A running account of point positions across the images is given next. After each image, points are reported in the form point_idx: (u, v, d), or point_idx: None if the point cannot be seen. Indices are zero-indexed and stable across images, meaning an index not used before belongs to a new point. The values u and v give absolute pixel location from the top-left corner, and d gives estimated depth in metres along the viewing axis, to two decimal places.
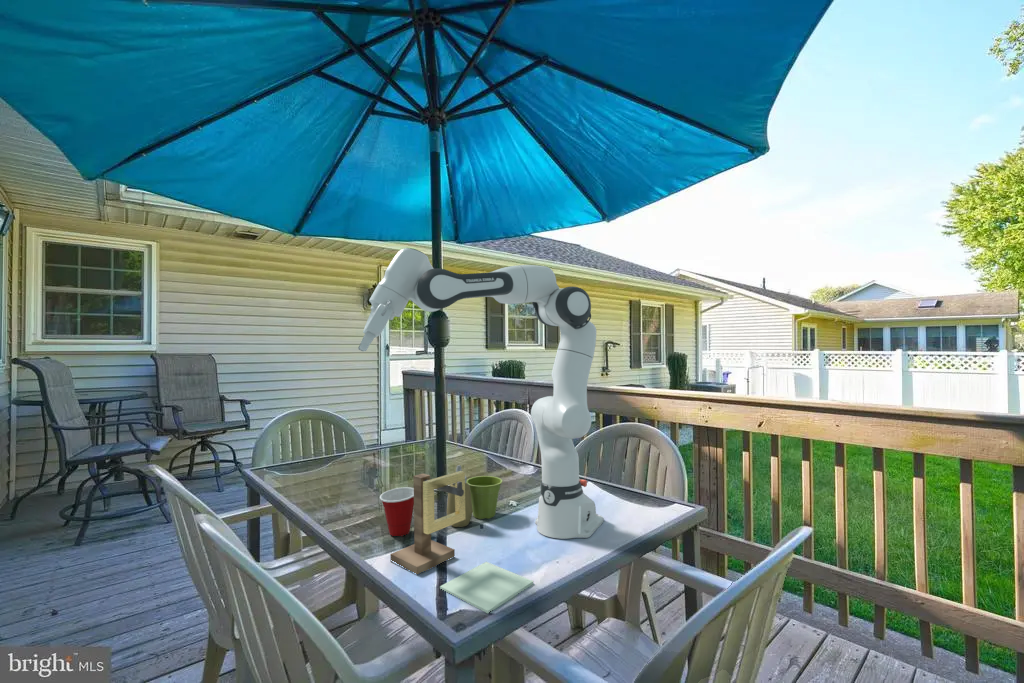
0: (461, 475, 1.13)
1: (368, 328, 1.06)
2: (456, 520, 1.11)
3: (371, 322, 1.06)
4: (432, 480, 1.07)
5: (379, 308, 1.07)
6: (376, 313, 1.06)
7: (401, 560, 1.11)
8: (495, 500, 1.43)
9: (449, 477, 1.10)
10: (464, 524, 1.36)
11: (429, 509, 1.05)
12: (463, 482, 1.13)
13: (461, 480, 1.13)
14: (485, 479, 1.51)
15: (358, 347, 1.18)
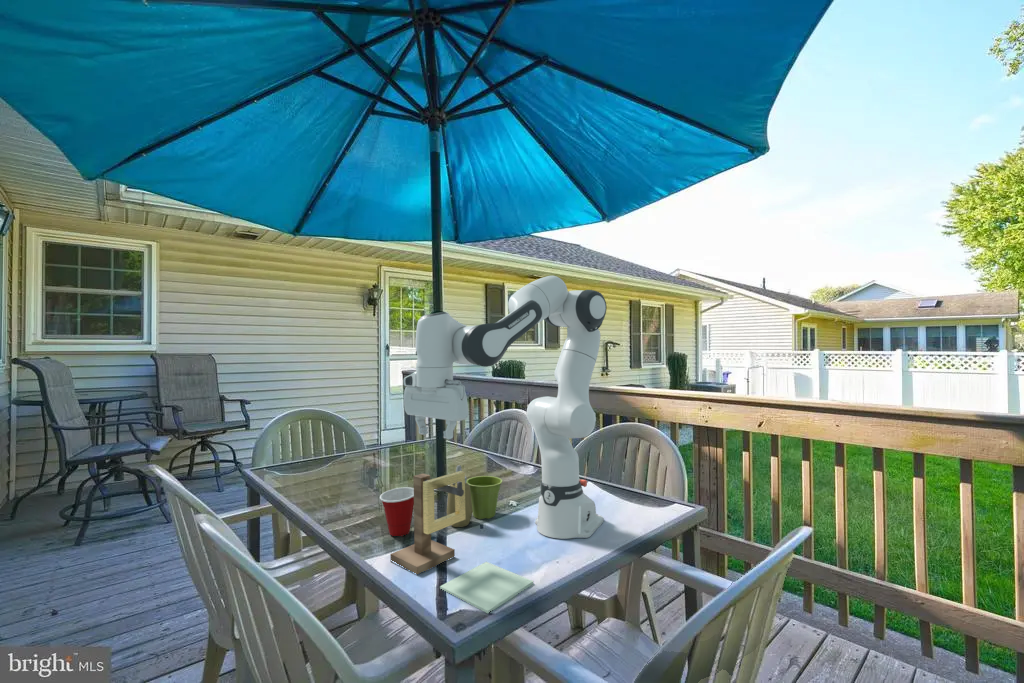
0: (461, 475, 1.13)
1: (458, 419, 1.01)
2: (456, 520, 1.11)
3: (458, 412, 1.01)
4: (432, 480, 1.07)
5: (456, 395, 1.01)
6: (457, 401, 1.01)
7: (401, 560, 1.11)
8: (495, 500, 1.43)
9: (449, 477, 1.10)
10: (464, 524, 1.36)
11: (429, 509, 1.05)
12: (463, 482, 1.13)
13: (461, 480, 1.13)
14: (485, 479, 1.51)
15: (421, 433, 1.10)
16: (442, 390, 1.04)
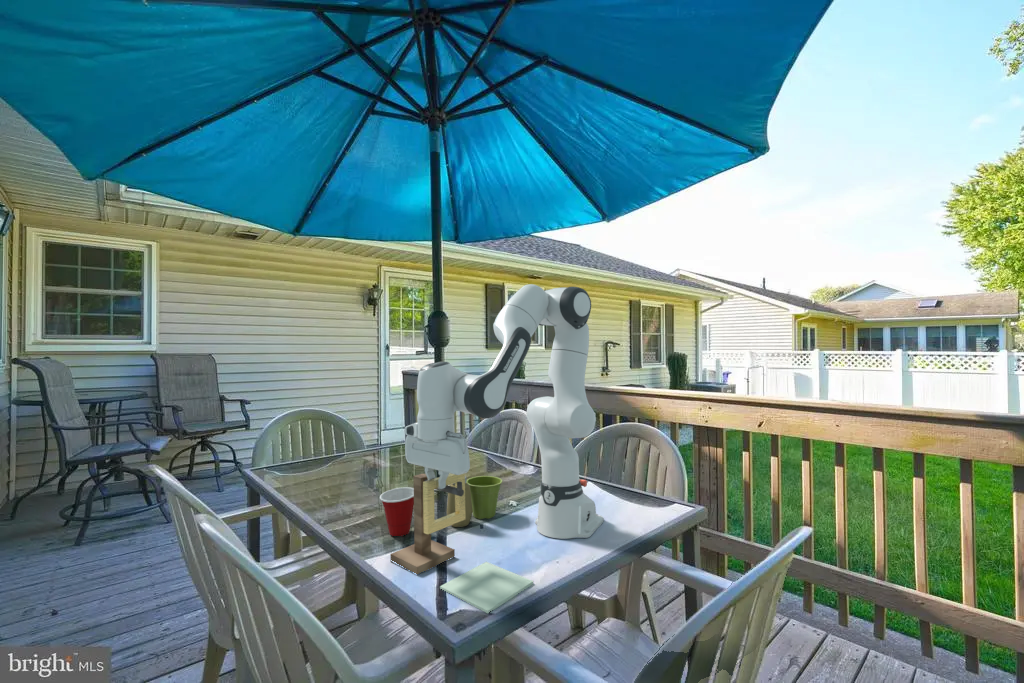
0: (461, 475, 1.13)
1: (459, 473, 1.01)
2: (456, 520, 1.11)
3: (460, 466, 1.00)
4: (432, 480, 1.07)
5: (458, 449, 1.01)
6: (459, 455, 1.01)
7: (401, 560, 1.11)
8: (495, 500, 1.43)
9: (449, 477, 1.10)
10: (464, 524, 1.36)
11: (429, 509, 1.05)
12: (463, 482, 1.13)
13: (461, 480, 1.13)
14: (485, 479, 1.51)
15: None
16: (444, 443, 1.03)
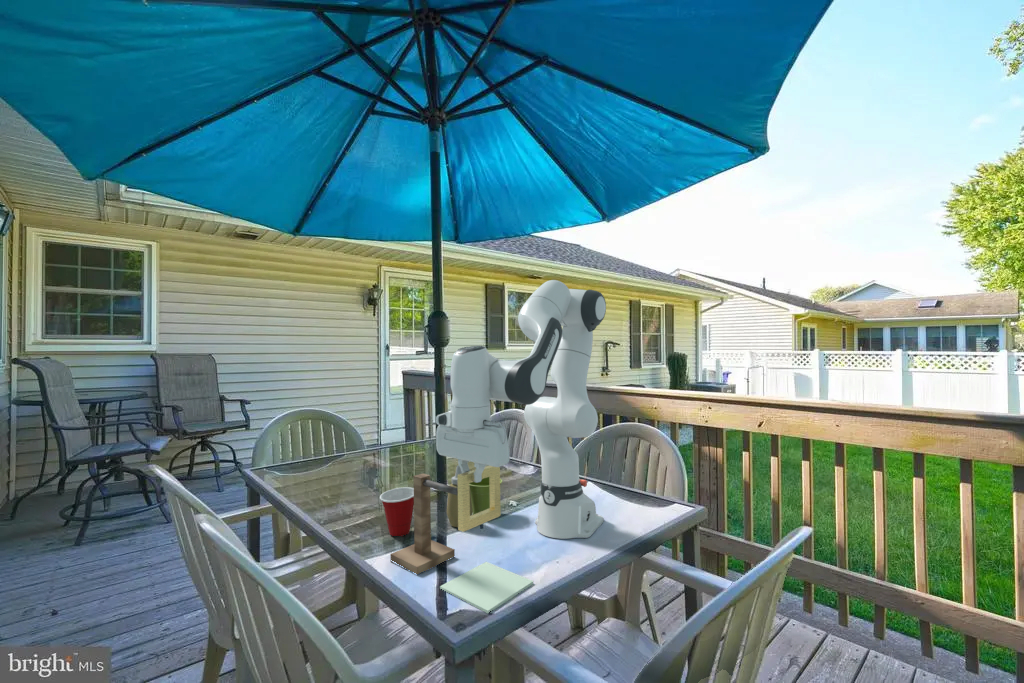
0: (496, 468, 1.05)
1: (499, 465, 0.93)
2: (491, 516, 1.03)
3: (500, 458, 0.92)
4: (467, 473, 0.99)
5: (497, 438, 0.93)
6: (498, 446, 0.93)
7: (401, 560, 1.11)
8: None
9: (484, 470, 1.02)
10: None
11: (464, 504, 0.97)
12: (498, 476, 1.05)
13: (496, 473, 1.05)
14: (485, 479, 1.51)
15: None
16: (481, 432, 0.95)
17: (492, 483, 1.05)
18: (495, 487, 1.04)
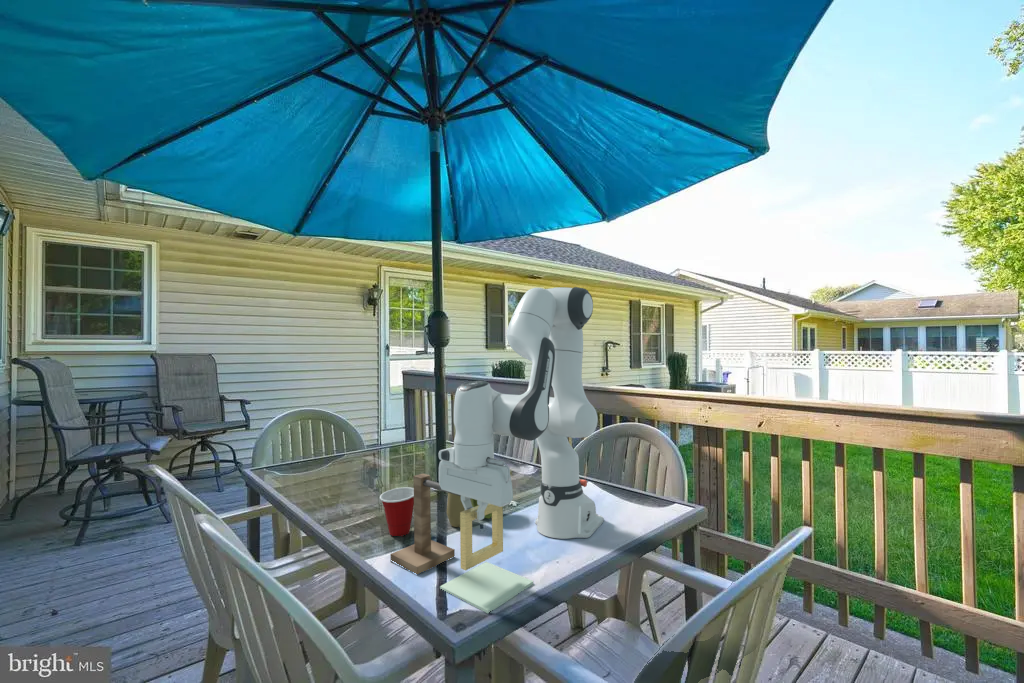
0: None
1: (502, 505, 0.92)
2: (494, 553, 1.02)
3: (503, 497, 0.92)
4: (470, 510, 0.98)
5: (501, 478, 0.92)
6: (502, 485, 0.92)
7: (401, 560, 1.11)
8: None
9: (487, 506, 1.01)
10: None
11: (467, 542, 0.96)
12: (501, 511, 1.05)
13: (499, 509, 1.04)
14: None
15: None
16: (484, 470, 0.95)
17: (495, 518, 1.04)
18: (498, 523, 1.04)
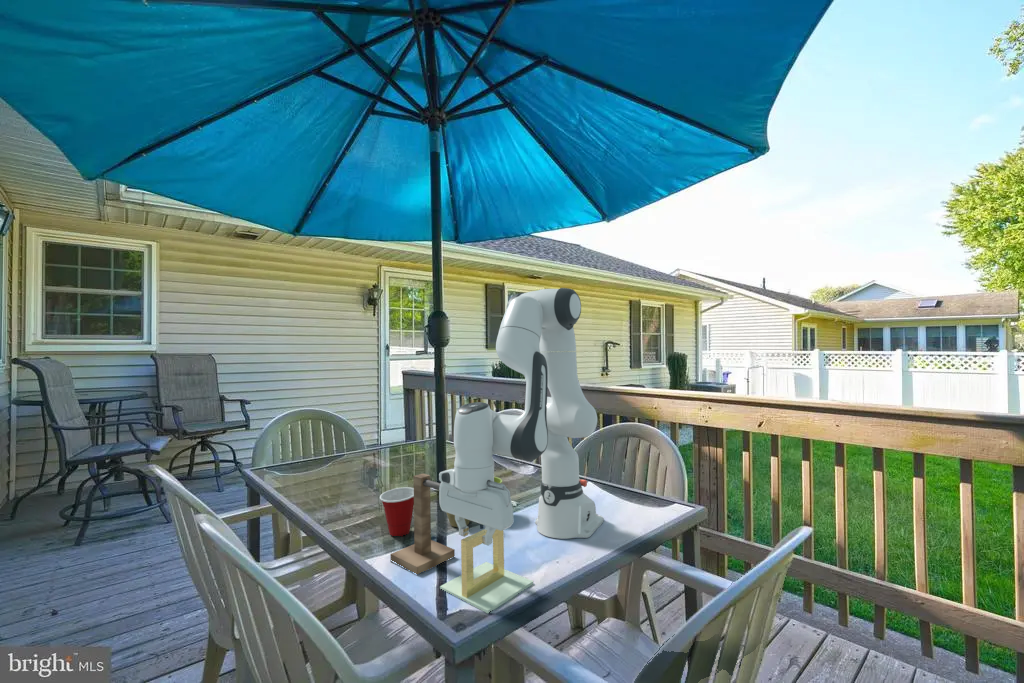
0: None
1: (503, 529, 0.92)
2: (495, 578, 1.02)
3: (504, 521, 0.92)
4: (471, 537, 0.98)
5: (501, 502, 0.92)
6: (503, 509, 0.92)
7: (401, 560, 1.11)
8: None
9: None
10: None
11: (468, 570, 0.96)
12: (502, 536, 1.05)
13: (500, 534, 1.04)
14: None
15: (462, 535, 1.01)
16: (484, 494, 0.95)
17: (496, 544, 1.04)
18: (499, 548, 1.04)
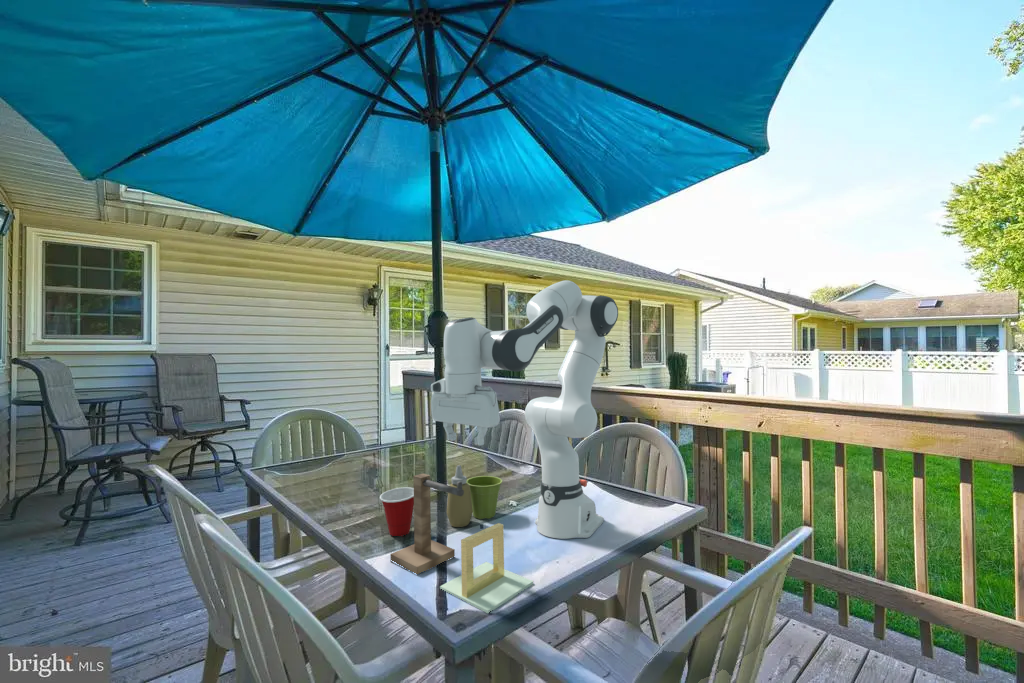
0: (499, 528, 1.04)
1: (490, 425, 1.00)
2: (495, 578, 1.02)
3: (491, 419, 1.00)
4: (471, 537, 0.98)
5: (488, 401, 1.00)
6: (489, 408, 1.00)
7: (401, 560, 1.11)
8: (495, 500, 1.43)
9: (488, 532, 1.01)
10: (464, 524, 1.36)
11: (468, 570, 0.96)
12: (502, 536, 1.05)
13: (500, 534, 1.04)
14: (485, 479, 1.51)
15: (450, 439, 1.09)
16: (473, 396, 1.03)
17: (496, 544, 1.04)
18: (499, 548, 1.04)
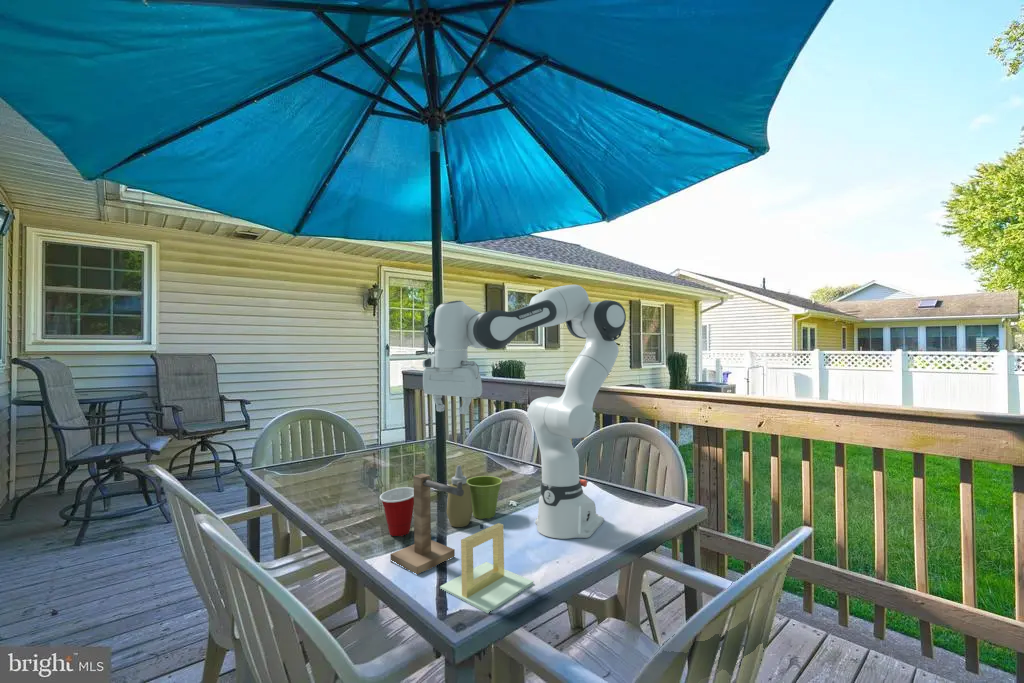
0: (499, 528, 1.04)
1: (473, 395, 1.13)
2: (495, 578, 1.02)
3: (473, 389, 1.12)
4: (471, 537, 0.98)
5: (472, 374, 1.13)
6: (473, 379, 1.13)
7: (401, 560, 1.11)
8: (495, 500, 1.43)
9: (488, 532, 1.01)
10: (464, 524, 1.36)
11: (468, 570, 0.96)
12: (502, 536, 1.05)
13: (500, 534, 1.04)
14: (485, 479, 1.51)
15: (439, 410, 1.22)
16: (458, 370, 1.16)
17: (496, 544, 1.04)
18: (499, 548, 1.04)
